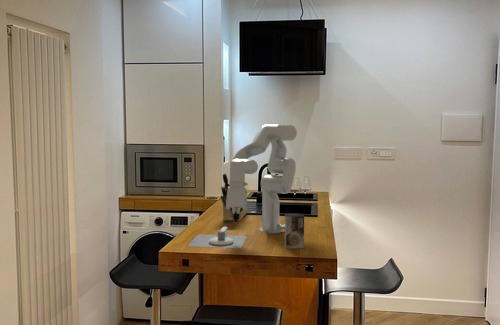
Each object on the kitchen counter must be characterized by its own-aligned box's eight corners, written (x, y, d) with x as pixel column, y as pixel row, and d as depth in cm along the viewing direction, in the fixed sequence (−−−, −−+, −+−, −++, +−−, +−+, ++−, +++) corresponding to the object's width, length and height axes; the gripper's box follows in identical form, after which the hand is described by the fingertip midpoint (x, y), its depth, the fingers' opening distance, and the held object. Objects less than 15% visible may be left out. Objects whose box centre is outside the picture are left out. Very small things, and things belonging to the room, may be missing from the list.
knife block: (219, 223, 301) (219, 172, 298) (230, 212, 336) (230, 166, 333) (237, 224, 299) (238, 172, 296) (247, 213, 334) (247, 166, 331)
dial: (231, 245, 245) (231, 235, 244) (207, 244, 246) (207, 234, 246) (236, 236, 263) (236, 227, 262) (213, 236, 264) (213, 226, 264)
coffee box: (302, 245, 254) (303, 213, 252) (304, 248, 248) (304, 216, 246) (284, 245, 254) (284, 213, 252) (285, 248, 247) (286, 215, 246)
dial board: (246, 239, 265) (246, 235, 265) (240, 251, 242) (240, 247, 241) (198, 237, 268) (198, 234, 268) (187, 249, 244) (187, 245, 244)
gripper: (252, 184, 257) (251, 220, 258) (223, 183, 258) (222, 219, 260) (251, 186, 249) (250, 223, 251) (221, 185, 251) (220, 221, 252)
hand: (236, 220), depth 255 cm, fingers closed
